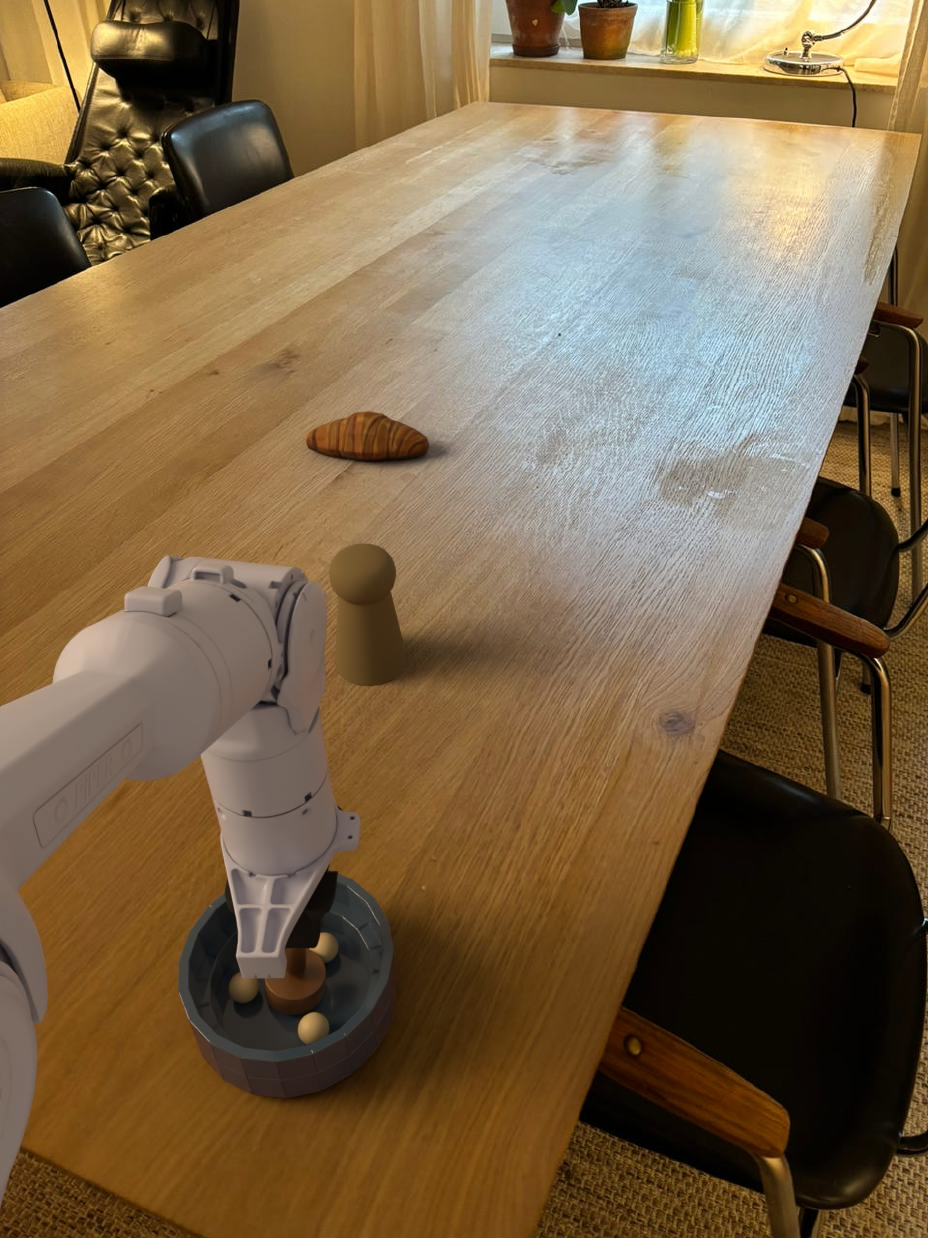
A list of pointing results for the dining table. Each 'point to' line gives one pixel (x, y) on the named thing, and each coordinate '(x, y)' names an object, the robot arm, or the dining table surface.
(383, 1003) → the bowl
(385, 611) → the brown game pawn
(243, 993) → the chickpea
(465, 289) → the dining table surface
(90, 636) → the robot arm
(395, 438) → the croissant
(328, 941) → the chickpea
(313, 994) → the wooden pestle
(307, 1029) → the chickpea
